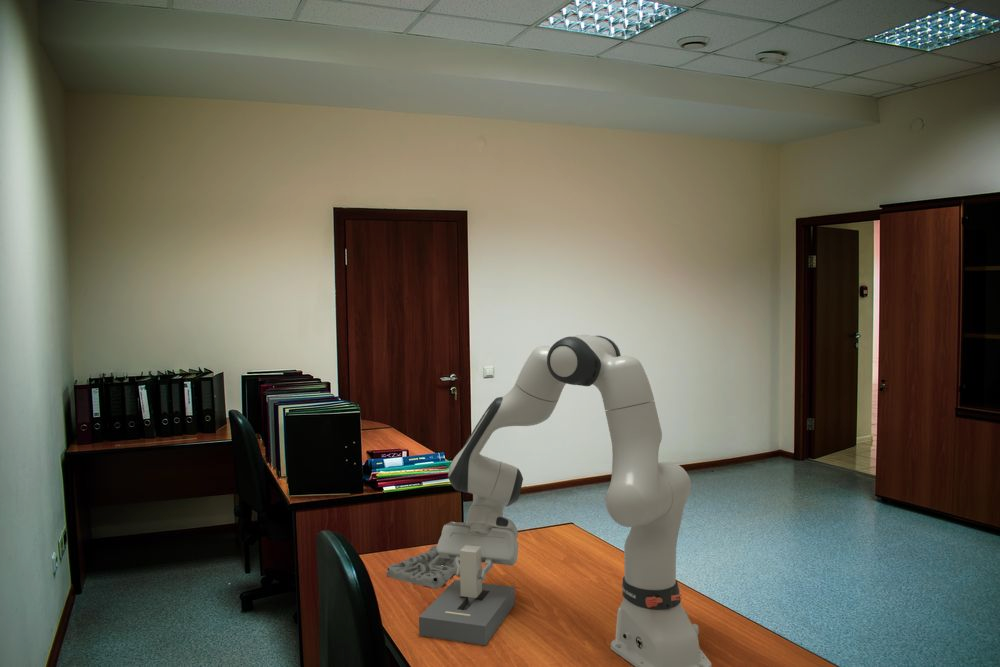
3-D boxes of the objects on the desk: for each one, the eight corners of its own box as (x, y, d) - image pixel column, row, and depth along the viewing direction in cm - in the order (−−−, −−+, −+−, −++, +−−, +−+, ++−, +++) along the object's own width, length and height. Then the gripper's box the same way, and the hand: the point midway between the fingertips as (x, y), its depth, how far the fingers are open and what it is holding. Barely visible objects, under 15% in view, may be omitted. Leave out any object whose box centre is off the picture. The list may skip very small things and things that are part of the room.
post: (466, 609, 174) (465, 544, 173) (483, 611, 172) (482, 546, 172) (459, 617, 170) (458, 551, 169) (477, 619, 168) (475, 552, 167)
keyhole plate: (455, 596, 183) (454, 578, 182) (514, 604, 178) (514, 586, 177) (419, 635, 162) (418, 616, 161) (485, 645, 157) (485, 625, 156)
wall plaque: (438, 591, 187) (437, 577, 187) (382, 578, 197) (382, 564, 197) (486, 562, 207) (486, 549, 207) (433, 551, 217) (433, 538, 217)
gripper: (441, 515, 180) (426, 567, 171) (518, 521, 173) (507, 576, 165) (448, 526, 184) (434, 578, 175) (524, 534, 178) (513, 587, 169)
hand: (470, 577), depth 170 cm, fingers closed on post, 4 cm apart
